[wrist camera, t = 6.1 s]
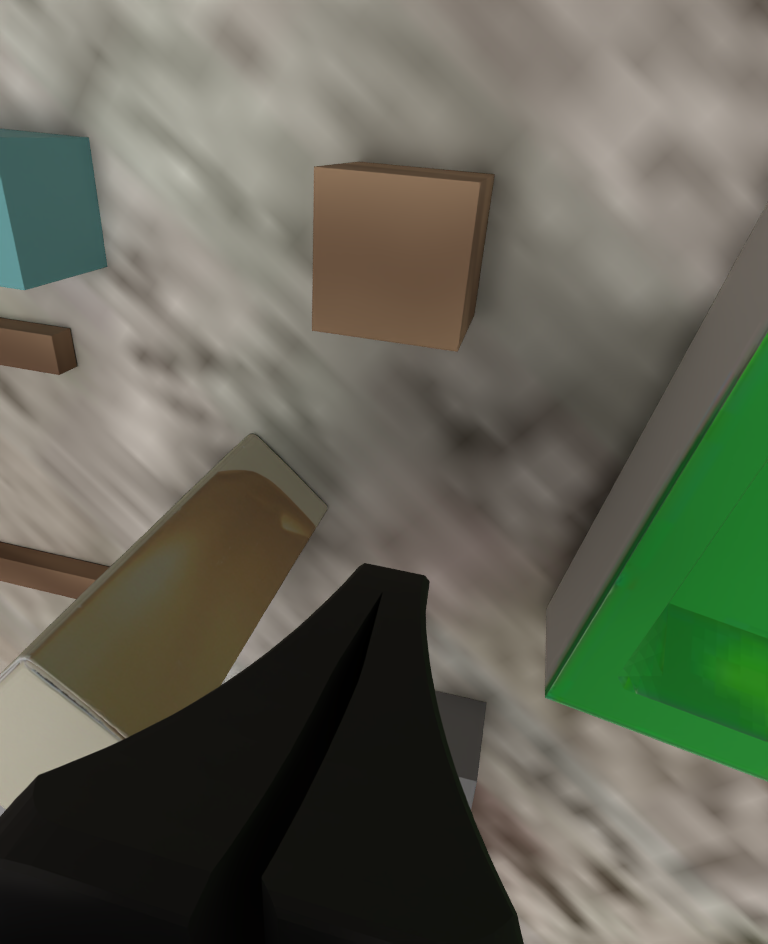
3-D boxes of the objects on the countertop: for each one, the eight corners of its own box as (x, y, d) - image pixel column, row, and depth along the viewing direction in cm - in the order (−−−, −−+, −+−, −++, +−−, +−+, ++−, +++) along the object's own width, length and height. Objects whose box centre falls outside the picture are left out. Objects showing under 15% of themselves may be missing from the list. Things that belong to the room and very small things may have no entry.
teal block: (108, 266, 22) (24, 290, 18) (10, 252, 22) (-88, 272, 19) (90, 137, 20) (-9, 137, 16) (-17, 126, 20) (-133, 123, 17)
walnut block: (474, 314, 19) (457, 351, 16) (353, 297, 20) (311, 330, 17) (494, 174, 17) (480, 182, 14) (359, 161, 18) (314, 166, 15)
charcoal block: (474, 758, 29) (464, 840, 26) (393, 738, 30) (372, 815, 26) (486, 701, 27) (477, 781, 24) (399, 680, 28) (377, 755, 24)
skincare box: (242, 577, 27) (48, 853, 17) (169, 509, 26) (-85, 755, 16) (337, 503, 24) (170, 785, 13) (257, 423, 23) (12, 659, 13)
